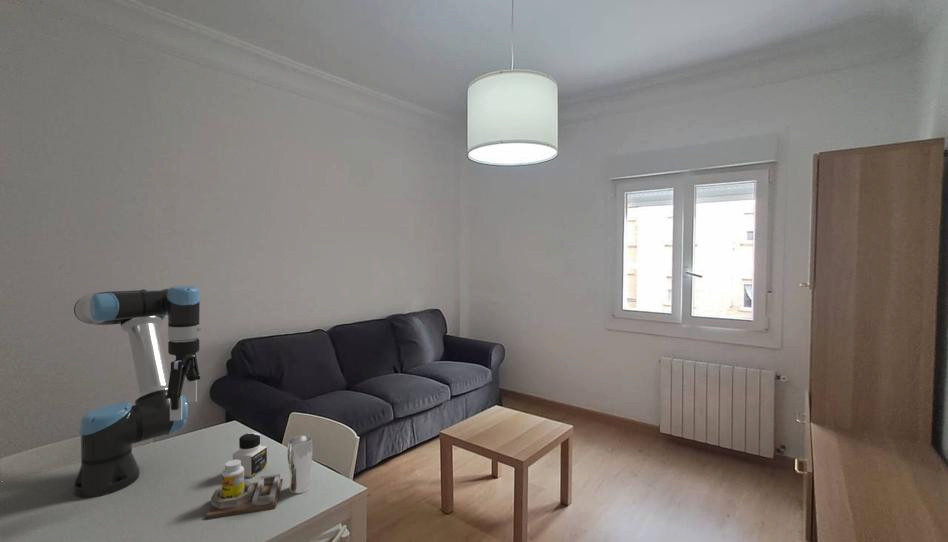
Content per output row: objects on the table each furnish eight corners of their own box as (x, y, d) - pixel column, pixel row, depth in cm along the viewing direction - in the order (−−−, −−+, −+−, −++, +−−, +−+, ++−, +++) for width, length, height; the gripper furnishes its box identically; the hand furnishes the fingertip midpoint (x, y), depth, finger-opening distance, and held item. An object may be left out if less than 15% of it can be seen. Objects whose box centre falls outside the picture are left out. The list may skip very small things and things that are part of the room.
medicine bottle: (251, 478, 132) (251, 440, 131) (232, 475, 133) (231, 438, 133) (267, 467, 139) (267, 431, 138) (248, 464, 140) (248, 429, 140)
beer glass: (283, 488, 126) (283, 439, 126) (306, 479, 131) (306, 432, 131) (293, 497, 121) (293, 447, 121) (316, 488, 127) (316, 439, 126)
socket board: (220, 490, 125) (220, 480, 125) (282, 481, 130) (282, 472, 130) (205, 518, 111) (205, 508, 111) (275, 508, 116) (275, 497, 116)
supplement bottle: (218, 499, 119) (217, 463, 118) (237, 490, 123) (237, 456, 123) (228, 505, 116) (228, 469, 115) (248, 495, 120) (248, 461, 120)
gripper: (185, 349, 111) (185, 427, 112) (210, 329, 134) (210, 394, 136) (151, 350, 108) (151, 430, 110) (183, 330, 132) (183, 396, 133)
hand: (184, 410), depth 123 cm, fingers open, 13 cm apart
